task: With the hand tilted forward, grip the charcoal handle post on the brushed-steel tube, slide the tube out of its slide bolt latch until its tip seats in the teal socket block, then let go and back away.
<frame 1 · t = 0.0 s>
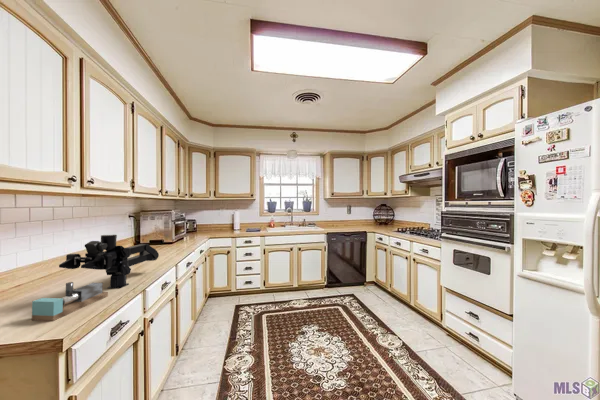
hand: (70, 266, 99), 16 cm above the worktop, tool horizontal, fingers open, 9 cm apart
slip tube: (76, 290, 100), point 6 cm above the worktop, slide at 0.0 cm
socket block: (47, 318, 89), resting on slide bolt latch
slide bolt latch: (74, 306, 99), on the worktop
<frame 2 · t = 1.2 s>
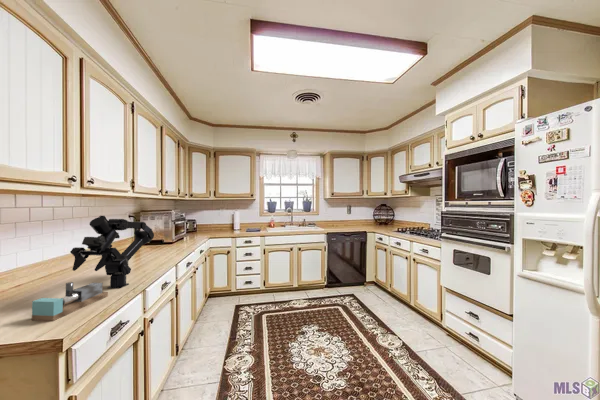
hand: (84, 270, 104), 13 cm above the worktop, tool tilted 45°, fingers open, 9 cm apart
nothing on the worktop moved.
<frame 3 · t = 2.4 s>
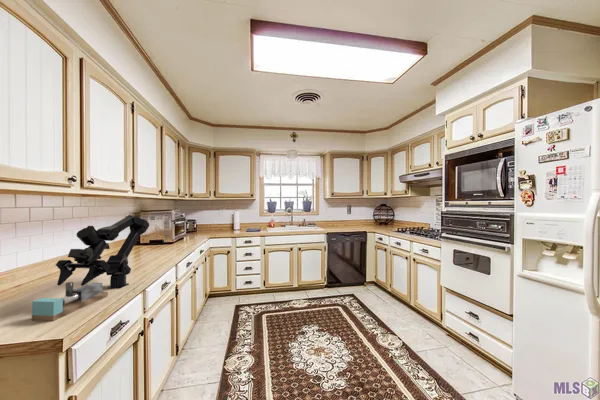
hand: (70, 285, 98), 9 cm above the worktop, tool tilted 45°, fingers open, 9 cm apart
nothing on the worktop moved.
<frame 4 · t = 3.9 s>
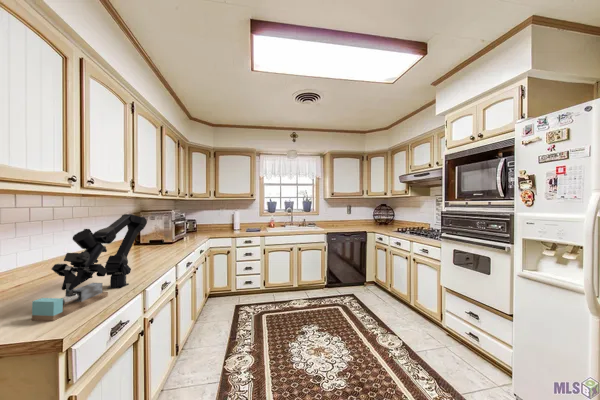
hand: (66, 289, 96), 8 cm above the worktop, tool tilted 45°, fingers closed on slip tube, 2 cm apart
slip tube: (76, 290, 100), point 6 cm above the worktop, slide at 0.0 cm, touching gripper
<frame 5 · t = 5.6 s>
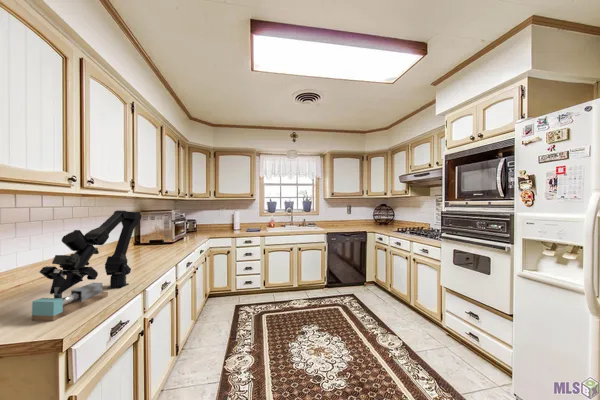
hand: (54, 293, 92), 8 cm above the worktop, tool tilted 45°, fingers closed on slip tube, 2 cm apart
slip tube: (65, 294, 96), point 6 cm above the worktop, slide at 4.4 cm, touching gripper
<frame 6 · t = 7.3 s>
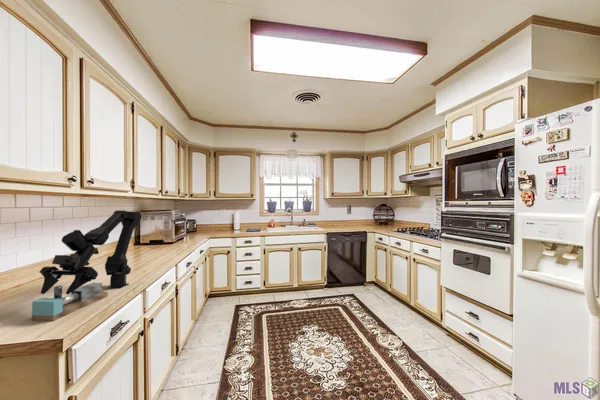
hand: (54, 293, 91), 8 cm above the worktop, tool tilted 45°, fingers open, 9 cm apart
slip tube: (65, 294, 96), point 6 cm above the worktop, slide at 4.4 cm
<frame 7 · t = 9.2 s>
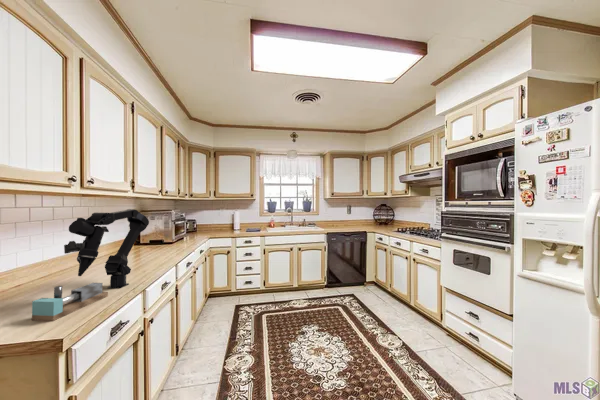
hand: (79, 275, 104), 11 cm above the worktop, tool tilted 20°, fingers open, 9 cm apart
nothing on the worktop moved.
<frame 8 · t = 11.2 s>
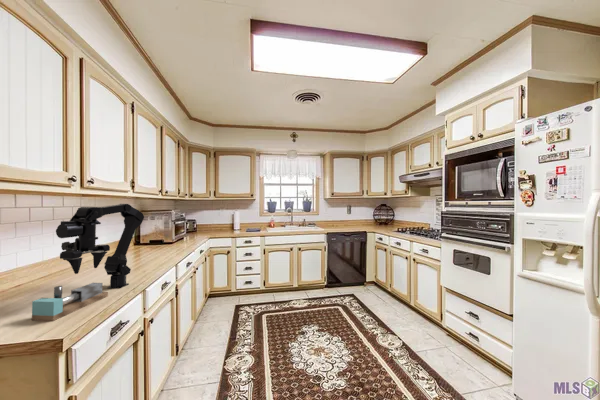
hand: (86, 270, 108), 12 cm above the worktop, tool pointing down, fingers open, 9 cm apart
nothing on the worktop moved.
at the end: slip tube slide at 4.4 cm; the gripper is holding nothing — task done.
